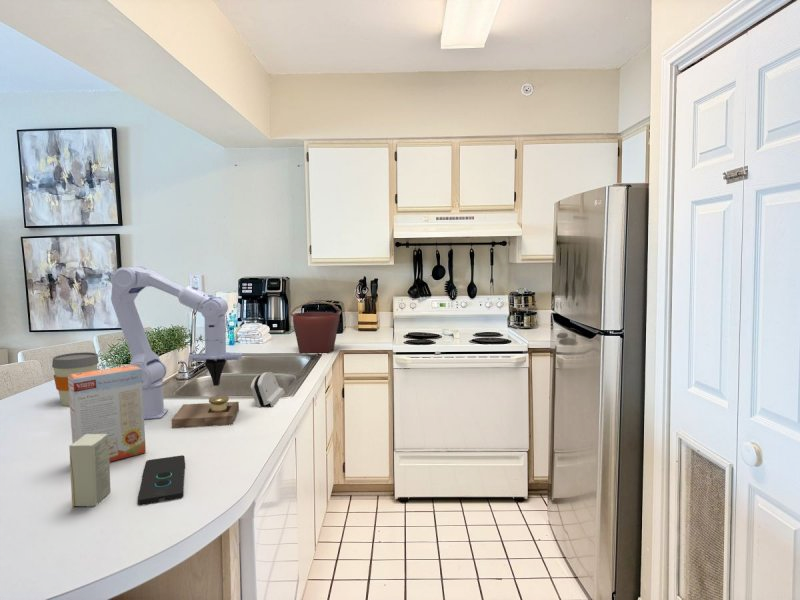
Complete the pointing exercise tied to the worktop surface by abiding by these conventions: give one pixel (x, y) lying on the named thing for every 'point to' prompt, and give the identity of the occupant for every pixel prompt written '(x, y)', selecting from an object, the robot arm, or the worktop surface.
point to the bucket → (316, 329)
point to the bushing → (218, 403)
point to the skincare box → (89, 469)
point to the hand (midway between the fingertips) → (216, 384)
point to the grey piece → (266, 389)
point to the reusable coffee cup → (71, 370)
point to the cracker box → (109, 408)
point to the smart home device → (162, 480)
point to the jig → (204, 415)
